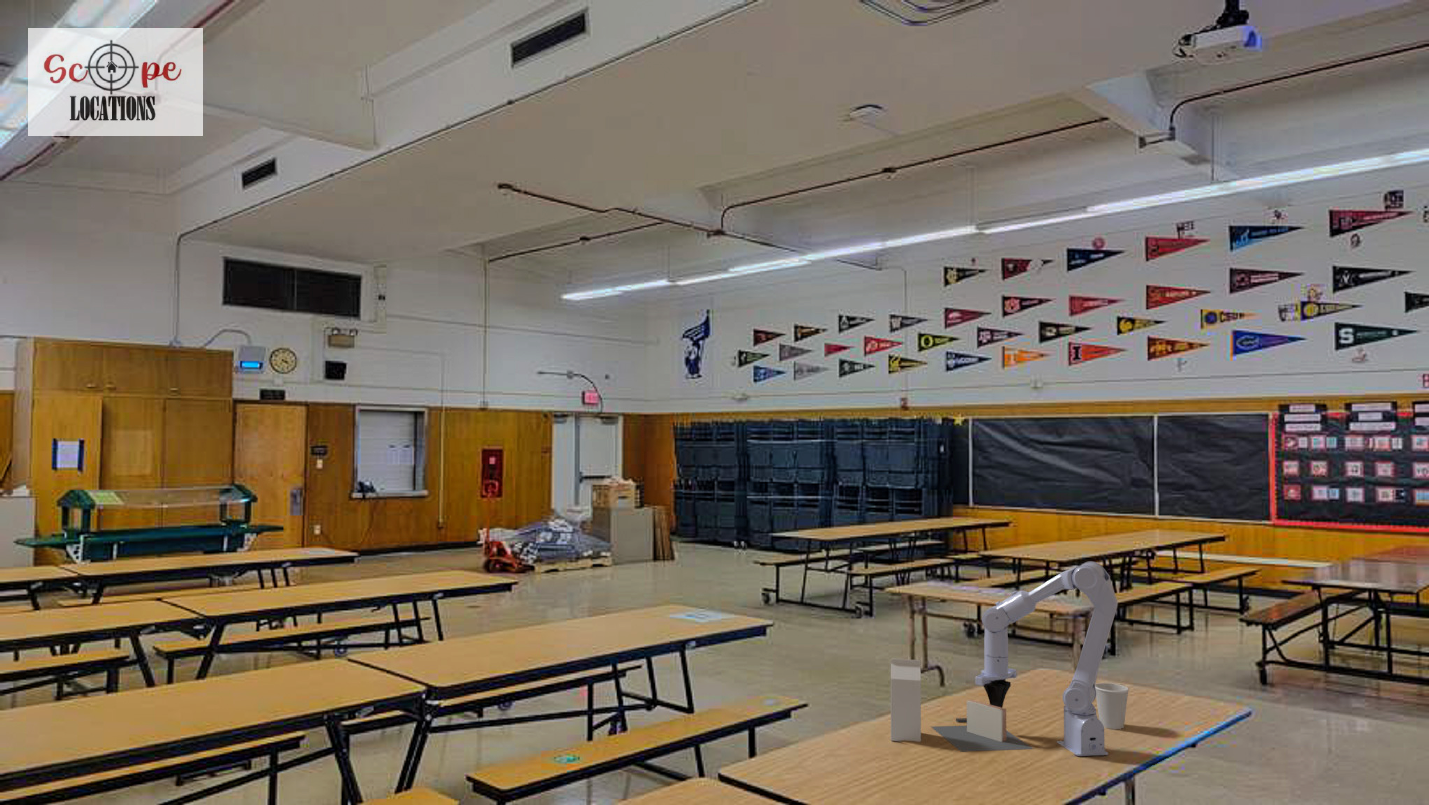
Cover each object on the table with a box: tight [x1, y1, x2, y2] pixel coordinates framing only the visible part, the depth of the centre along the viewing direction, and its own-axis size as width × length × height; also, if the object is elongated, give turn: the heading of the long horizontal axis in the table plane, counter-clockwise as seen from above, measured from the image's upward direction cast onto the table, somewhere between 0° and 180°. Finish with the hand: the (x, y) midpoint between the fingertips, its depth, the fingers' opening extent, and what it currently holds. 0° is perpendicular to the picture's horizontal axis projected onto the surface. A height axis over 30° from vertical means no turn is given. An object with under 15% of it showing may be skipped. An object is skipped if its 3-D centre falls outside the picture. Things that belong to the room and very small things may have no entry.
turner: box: [955, 717, 967, 723], centre depth 233 cm, size 19×7×1 cm, turn 98°
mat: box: [931, 725, 1034, 753], centre depth 220 cm, size 19×18×1 cm
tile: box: [966, 699, 1007, 742], centre depth 222 cm, size 2×10×8 cm, turn 38°
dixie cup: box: [1095, 682, 1130, 730], centre depth 233 cm, size 8×8×10 cm
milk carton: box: [890, 658, 922, 742], centre depth 221 cm, size 7×7×19 cm
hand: (996, 710), depth 225 cm, fingers closed
